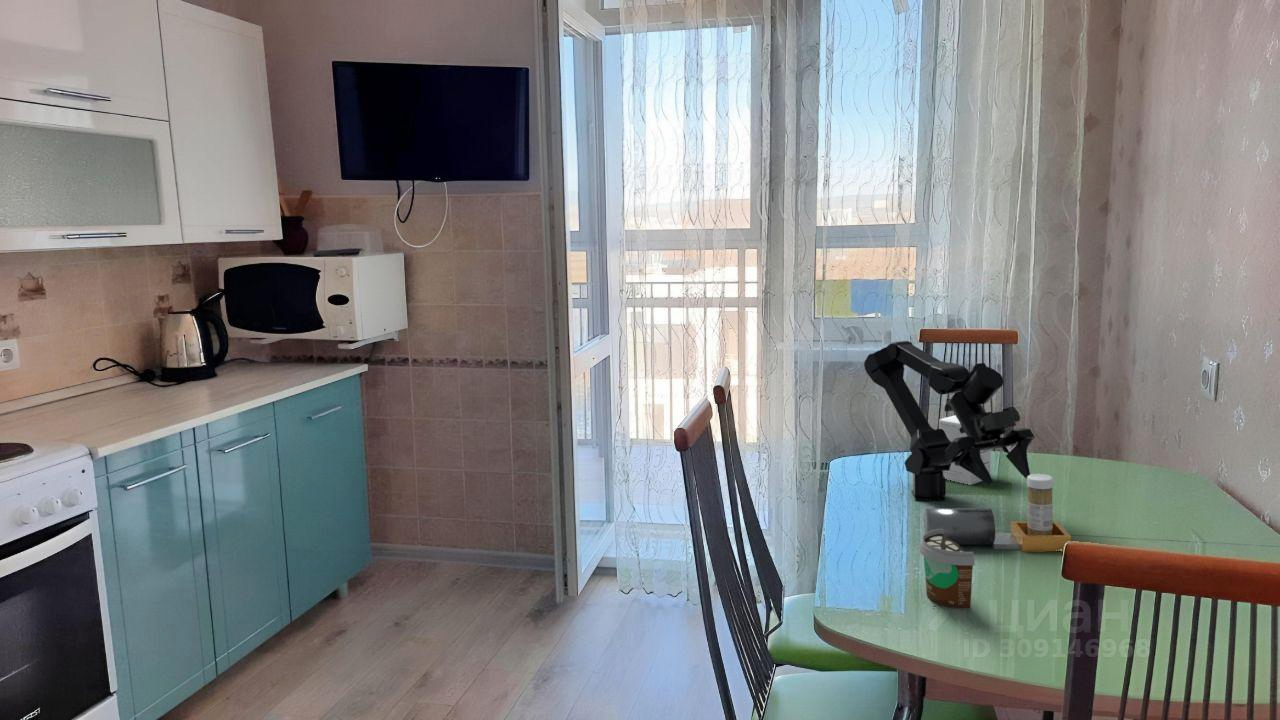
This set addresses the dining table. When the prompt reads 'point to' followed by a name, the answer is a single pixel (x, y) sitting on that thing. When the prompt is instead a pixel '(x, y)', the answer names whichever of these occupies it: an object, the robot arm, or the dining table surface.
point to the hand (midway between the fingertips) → (1010, 480)
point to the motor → (990, 530)
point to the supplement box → (955, 472)
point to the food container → (946, 570)
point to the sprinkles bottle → (1039, 504)
